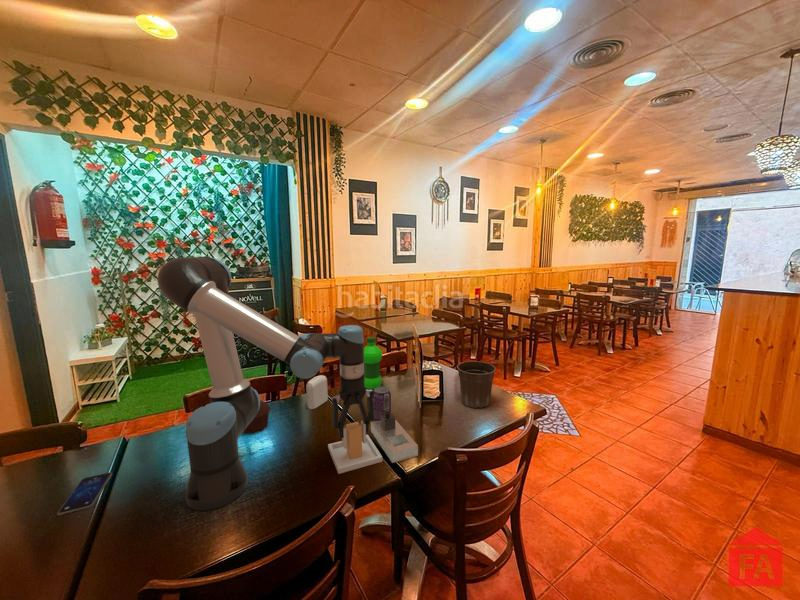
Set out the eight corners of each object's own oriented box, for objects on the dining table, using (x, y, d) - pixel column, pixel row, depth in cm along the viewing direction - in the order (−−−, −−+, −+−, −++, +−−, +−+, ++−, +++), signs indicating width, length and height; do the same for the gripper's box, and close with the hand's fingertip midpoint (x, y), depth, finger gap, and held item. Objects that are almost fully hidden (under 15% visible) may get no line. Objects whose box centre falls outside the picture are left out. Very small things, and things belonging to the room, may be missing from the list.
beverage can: (392, 414, 134) (391, 386, 132) (389, 423, 127) (389, 393, 125) (374, 413, 135) (374, 385, 133) (371, 422, 128) (371, 393, 126)
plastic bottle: (374, 382, 167) (373, 334, 163) (386, 388, 159) (386, 338, 155) (357, 387, 160) (356, 337, 157) (369, 394, 152) (368, 342, 149)
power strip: (392, 464, 103) (392, 433, 101) (370, 432, 121) (370, 405, 119) (417, 456, 106) (418, 426, 105) (393, 427, 124) (393, 401, 123)
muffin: (231, 431, 122) (229, 406, 120) (253, 417, 132) (251, 394, 131) (257, 437, 118) (255, 411, 116) (278, 422, 128) (276, 398, 127)
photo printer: (313, 410, 138) (312, 382, 136) (305, 408, 140) (304, 380, 138) (329, 400, 147) (328, 373, 145) (321, 398, 149) (320, 372, 147)
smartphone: (54, 515, 83) (82, 478, 96) (55, 518, 83) (82, 481, 97) (92, 505, 86) (113, 470, 99) (92, 508, 86) (114, 473, 100)
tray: (338, 475, 98) (338, 469, 98) (328, 449, 110) (328, 444, 110) (382, 462, 103) (382, 456, 103) (368, 439, 116) (367, 434, 116)
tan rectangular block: (350, 459, 104) (349, 430, 103) (346, 452, 108) (345, 424, 106) (362, 456, 106) (361, 427, 104) (358, 449, 109) (357, 421, 108)
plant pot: (449, 403, 143) (450, 368, 141) (466, 391, 156) (467, 358, 153) (485, 415, 133) (486, 376, 131) (499, 400, 146) (501, 365, 144)
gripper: (324, 384, 96) (327, 457, 99) (384, 374, 103) (385, 442, 107) (319, 375, 102) (322, 444, 106) (376, 366, 110) (377, 431, 113)
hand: (354, 443), depth 106 cm, fingers open, 6 cm apart
